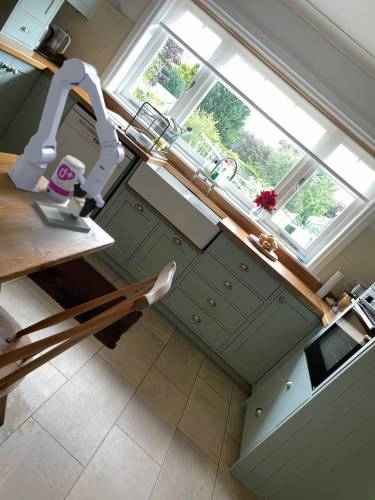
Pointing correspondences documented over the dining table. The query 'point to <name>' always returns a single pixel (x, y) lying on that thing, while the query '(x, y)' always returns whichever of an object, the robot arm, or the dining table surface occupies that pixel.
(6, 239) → the dining table surface
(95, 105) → the robot arm
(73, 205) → the white cube with stripe
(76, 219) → the post
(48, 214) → the board
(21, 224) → the dining table surface
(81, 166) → the supplement can
